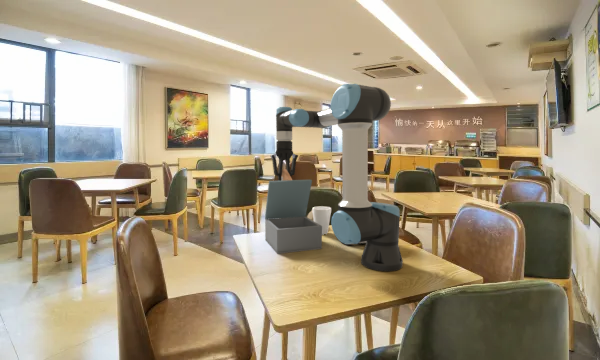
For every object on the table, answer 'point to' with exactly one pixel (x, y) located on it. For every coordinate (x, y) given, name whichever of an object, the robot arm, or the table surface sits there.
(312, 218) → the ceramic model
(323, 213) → the foam cup
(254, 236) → the table surface
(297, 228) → the carton
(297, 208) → the lid flap
